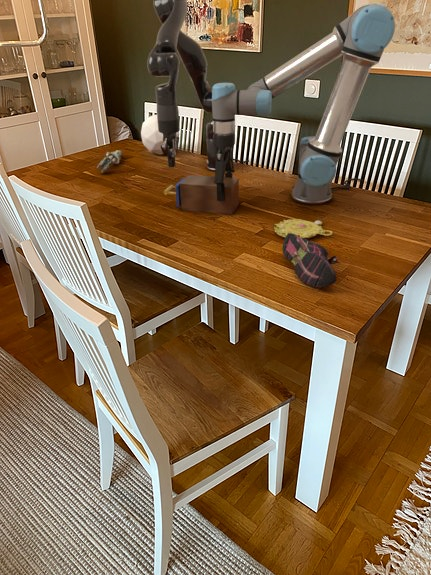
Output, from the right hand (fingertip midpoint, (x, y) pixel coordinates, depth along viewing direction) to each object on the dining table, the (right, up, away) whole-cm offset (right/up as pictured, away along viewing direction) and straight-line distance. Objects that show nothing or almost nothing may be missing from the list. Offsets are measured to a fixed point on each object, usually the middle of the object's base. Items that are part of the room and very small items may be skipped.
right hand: (224, 195), depth 162 cm
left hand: (-19, +10, 0) cm, 22 cm away
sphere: (-32, +36, +68) cm, 83 cm away
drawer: (-11, -2, +5) cm, 12 cm away
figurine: (-54, +25, +52) cm, 79 cm away
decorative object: (+25, -16, -16) cm, 34 cm away
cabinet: (-5, -4, +4) cm, 8 cm away
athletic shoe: (+24, -30, -38) cm, 54 cm away
